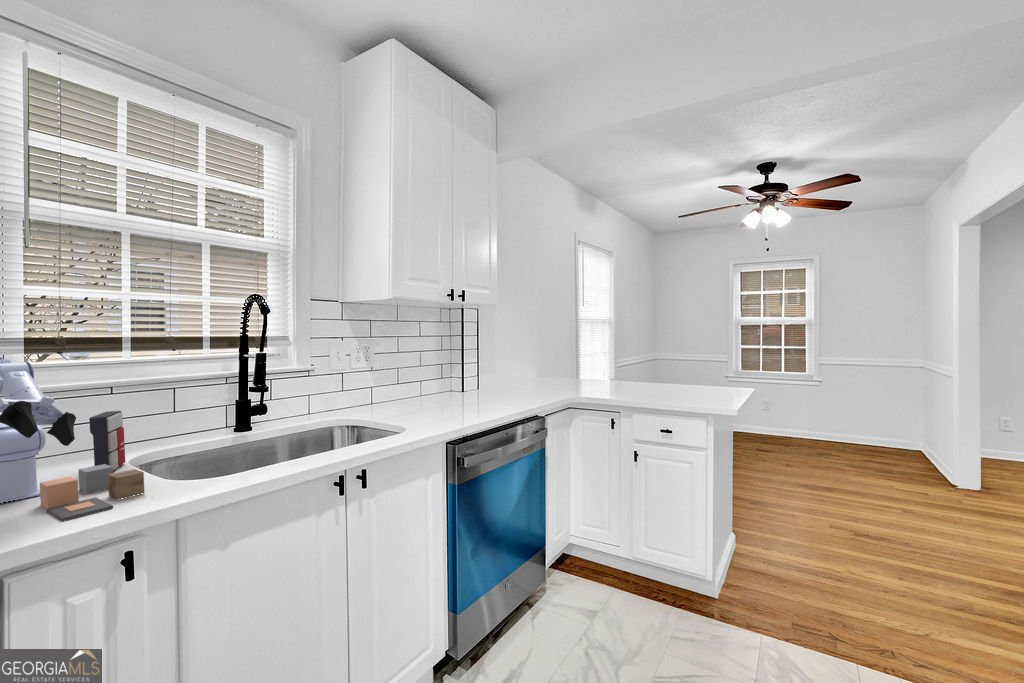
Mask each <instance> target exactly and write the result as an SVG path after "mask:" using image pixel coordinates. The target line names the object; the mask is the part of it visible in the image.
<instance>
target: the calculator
mask: <svg viewBox="0 0 1024 683" xmlns="http://www.w3.org/2000/svg"><path fill="white" fill-rule="evenodd" d="M123 422H124V418H123V412H122V411H121V410H112V411H109V410H108V411H104V412H101V413H99V414H97V415H94V416H91V417H89V433H90V434H91V435H92V438H93V439H92V440H93V442H92V443H93V459H94V462H93V465H94V466H98V465H103V464H106V465H109V466H111V467H113V470H114V471H115V470H117V469H119V467H121V466H123V464H125V463H126V448H125V427H124V423H123Z"/></svg>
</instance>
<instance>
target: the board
mask: <svg viewBox="0 0 1024 683" xmlns="http://www.w3.org/2000/svg"><path fill="white" fill-rule="evenodd" d="M112 508H113V509H114V505H113V504H111V503H109V502H106V501H104V500H103V499H100V498H98V497H97V496H95V497H91V498H87V499H82V500H79V501H78V502H73V503H69V504H65V505H61V506H56V507H52V508H48V509H46V512H47V513H48V512H49V513H48V514H50V515H51V514H52V515H51V516H53V515H54V516H53V517H55V518H56V517H57V520H59V521H61V520H62V521H61V522H65V521H64V520H66V521H69V520H68V519H70V520H73V519H72V518H74V519H77V518H76V517H78V518H80V517H79V516H81V517H84V516H83V515H85V516H88V515H87V514H89V515H92V514H91V513H93V514H96V513H95V512H97V513H100V512H99V511H101V512H103V510H105V511H108V510H107V509H109V510H112Z"/></svg>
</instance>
